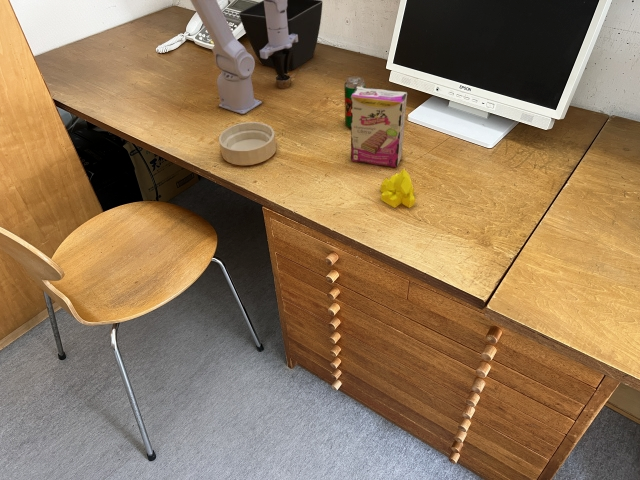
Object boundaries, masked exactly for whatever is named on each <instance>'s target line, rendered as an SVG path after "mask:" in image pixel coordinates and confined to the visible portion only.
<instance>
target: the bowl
mask: <svg viewBox="0 0 640 480" xmlns="http://www.w3.org/2000/svg"><path fill="white" fill-rule="evenodd" d="M218 144H219V149H220V152H221V153H220V154H221V156H222V159H224V160H225V161H226V162H227V163H230V164H232V165H237V166H252V165H256V164H259V163H262V162H266V161H267V160H269V159H270V158H271V157H273V156H274V155H275V153H276V152H277V141H276V132H275V130H274V128H273V127H272V126H270V125H269V124H266V123H263V122H260V121H259V122H258V121H244V122H240V123H236V124H233V125H230V126H228V127H227V128H225V129H224V130H222V132H221V133H220V134H219V137H218Z"/></svg>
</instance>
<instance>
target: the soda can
mask: <svg viewBox="0 0 640 480" xmlns="http://www.w3.org/2000/svg"><path fill="white" fill-rule="evenodd" d="M343 86H344V87H343V89H344V124H345V126H346V127H347V128H348V129H351V96H352V94H353V93H354V91H355V89H356V88H357V87H364V88H366V82H365V80H364V78H363V77H361V76H350V77H347V78H346V79H345V82H344V85H343Z"/></svg>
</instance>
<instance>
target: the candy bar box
mask: <svg viewBox="0 0 640 480" xmlns="http://www.w3.org/2000/svg"><path fill="white" fill-rule="evenodd" d="M407 99H408V92H407V91H401V90H400V91H399V90H389V89H381V88H372V87H365V88H364V87H357V88H356V89H355V91H354V93H353V94H352V96H351V128H350V161H351V162H357V163H363V164H370V165H377V166H382V167H383V166H384V167H388V168H389V167H390V168H398V166H399V164H400V162H401V159H402V158H403V157H402V156H403V146H404V145H403V144H404V131H405V124H406V123H405V122H406V110H407Z"/></svg>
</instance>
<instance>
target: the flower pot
mask: <svg viewBox="0 0 640 480" xmlns="http://www.w3.org/2000/svg"><path fill="white" fill-rule="evenodd" d="M286 13H287V23H288V34H289V35H291V34H296V35H298V42H296V43H295V42H294V43H292V48H293V50H294V51H293V53H292V56H291V59H290V63H289V69H288V71H295V70H296V69H298V68H299V67H300V66H302V65H304V63H306V62H308V61H309V60H310V59H312V58H313V57H314V54H315V51H316V47H317V43H318V39H319V34H320V29H321V20H322V14H323V0H287V9H286ZM238 16H239V19H240V22H241V24H242V27H243V30H244V32H245V35H246V38H247V40H248V42H249V44H250V46H251V47H252V50H253V52H254V54H255V56H256V57H257V60H258V61H259V62H260V65H262V66H266V67H269V68H274V65H273V63H272V62H271V60H270V59H269V57H268V58H267V59H264V58H261V57H260V50H262V49H263V48H264V47H265V46H266V45H267V44H268V43H269V40H268V31H267V23H266V15H265V7H264V0H261V1H259V2H257V3H255V4H253V5H251V6H249V7H247V8H245V9H243V10H241V11H239V12H238Z"/></svg>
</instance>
